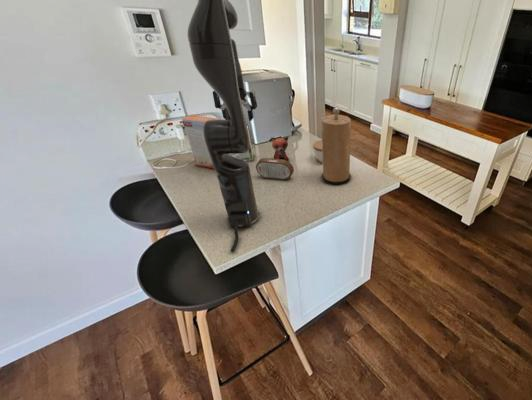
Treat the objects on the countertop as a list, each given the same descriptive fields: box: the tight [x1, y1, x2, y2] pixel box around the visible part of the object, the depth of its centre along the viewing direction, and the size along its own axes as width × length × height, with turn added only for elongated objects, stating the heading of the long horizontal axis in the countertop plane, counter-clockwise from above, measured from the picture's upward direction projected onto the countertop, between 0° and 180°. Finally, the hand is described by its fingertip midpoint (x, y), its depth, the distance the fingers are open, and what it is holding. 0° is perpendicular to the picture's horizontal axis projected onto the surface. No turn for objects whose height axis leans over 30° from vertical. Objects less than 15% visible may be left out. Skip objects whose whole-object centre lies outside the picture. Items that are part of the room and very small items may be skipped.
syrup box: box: [237, 125, 254, 162], centre depth 125 cm, size 6×6×14 cm
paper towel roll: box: [321, 106, 352, 186], centre depth 110 cm, size 12×12×30 cm
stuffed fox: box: [270, 136, 290, 162], centre depth 126 cm, size 8×11×12 cm
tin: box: [255, 157, 295, 181], centre depth 113 cm, size 15×3×8 cm, turn 84°
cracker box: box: [181, 114, 222, 170], centre depth 116 cm, size 14×6×21 cm, turn 74°
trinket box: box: [312, 139, 323, 164], centre depth 129 cm, size 11×11×9 cm
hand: (239, 119), depth 105 cm, fingers open, 8 cm apart
